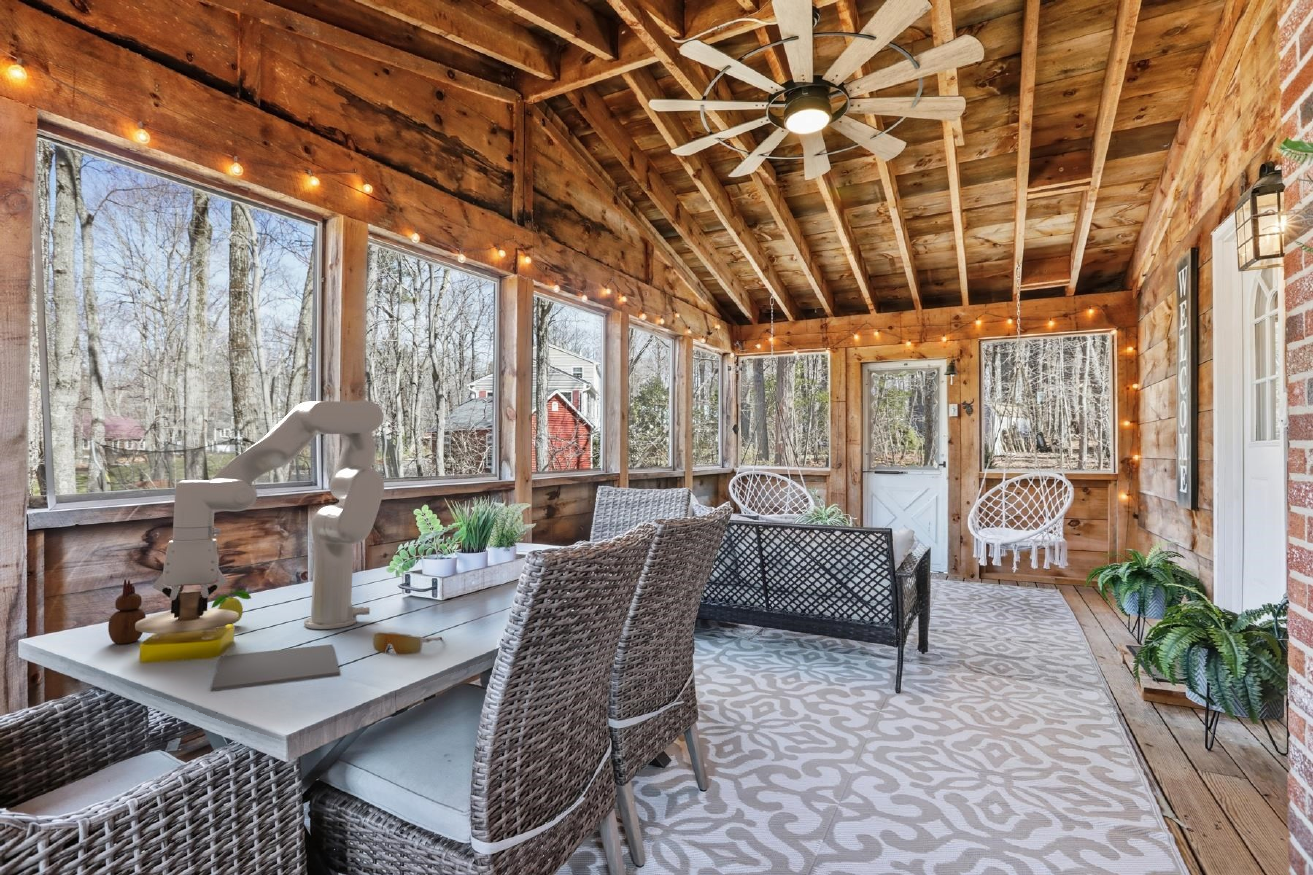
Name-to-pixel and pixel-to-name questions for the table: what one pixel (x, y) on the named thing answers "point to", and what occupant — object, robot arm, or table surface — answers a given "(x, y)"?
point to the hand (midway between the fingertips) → (189, 614)
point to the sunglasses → (399, 642)
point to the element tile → (187, 645)
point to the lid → (187, 617)
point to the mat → (275, 666)
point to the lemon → (232, 602)
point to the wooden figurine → (126, 616)
